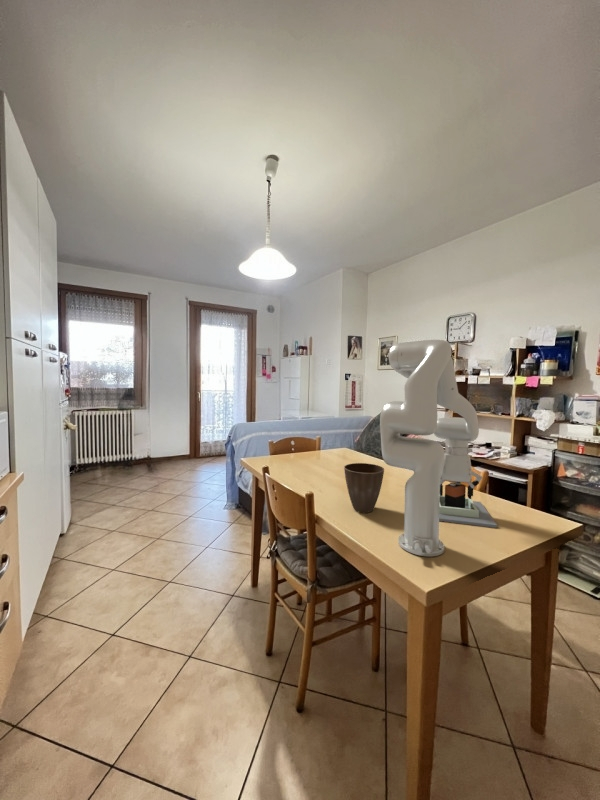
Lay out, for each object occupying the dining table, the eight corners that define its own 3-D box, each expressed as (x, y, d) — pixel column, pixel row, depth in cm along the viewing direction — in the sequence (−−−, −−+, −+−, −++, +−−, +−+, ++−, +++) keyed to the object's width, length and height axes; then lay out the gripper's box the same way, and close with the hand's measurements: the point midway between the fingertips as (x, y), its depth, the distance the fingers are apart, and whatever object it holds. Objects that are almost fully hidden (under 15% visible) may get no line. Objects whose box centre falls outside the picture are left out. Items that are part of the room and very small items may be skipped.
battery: (443, 508, 118) (444, 482, 118) (454, 505, 122) (455, 479, 121) (454, 512, 114) (455, 485, 114) (465, 509, 118) (466, 482, 117)
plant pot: (347, 499, 130) (348, 461, 129) (385, 504, 125) (385, 464, 124) (340, 513, 116) (340, 470, 115) (381, 519, 111) (382, 474, 110)
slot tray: (497, 528, 104) (497, 517, 104) (425, 519, 111) (426, 509, 111) (480, 504, 125) (480, 495, 125) (421, 498, 132) (421, 490, 132)
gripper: (480, 450, 118) (478, 495, 119) (430, 447, 123) (429, 490, 124) (485, 454, 111) (483, 502, 111) (432, 451, 116) (431, 497, 117)
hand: (454, 496), depth 118 cm, fingers open, 9 cm apart
